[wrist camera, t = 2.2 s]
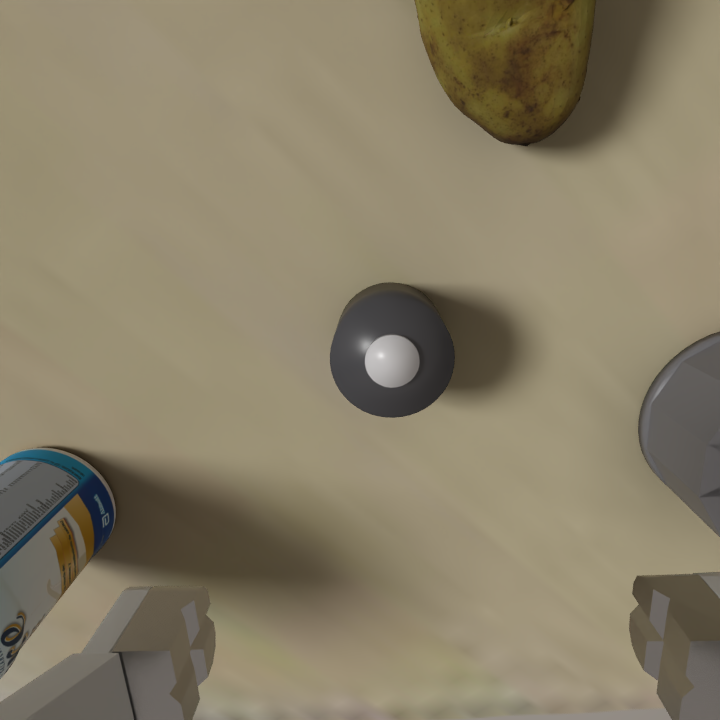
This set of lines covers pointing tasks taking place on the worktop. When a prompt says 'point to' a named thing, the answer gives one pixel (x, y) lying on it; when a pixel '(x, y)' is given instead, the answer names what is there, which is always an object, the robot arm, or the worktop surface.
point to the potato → (510, 60)
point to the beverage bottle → (45, 536)
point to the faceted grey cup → (687, 428)
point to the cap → (391, 351)
